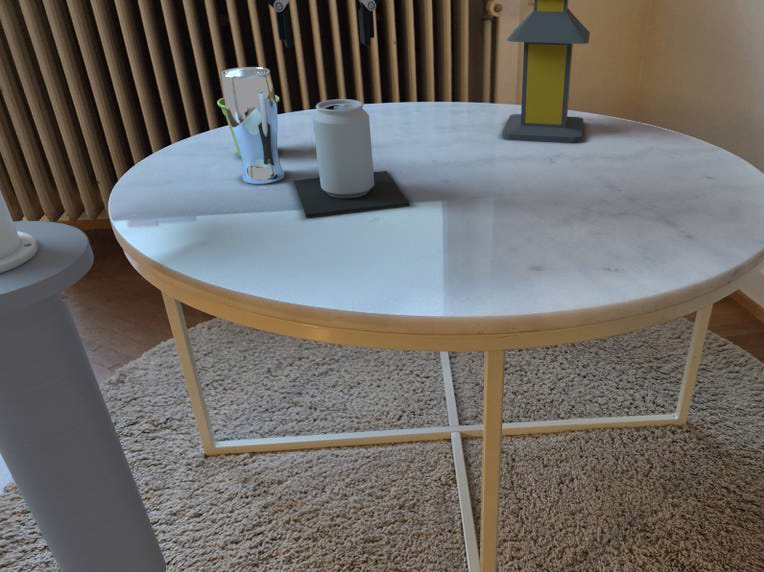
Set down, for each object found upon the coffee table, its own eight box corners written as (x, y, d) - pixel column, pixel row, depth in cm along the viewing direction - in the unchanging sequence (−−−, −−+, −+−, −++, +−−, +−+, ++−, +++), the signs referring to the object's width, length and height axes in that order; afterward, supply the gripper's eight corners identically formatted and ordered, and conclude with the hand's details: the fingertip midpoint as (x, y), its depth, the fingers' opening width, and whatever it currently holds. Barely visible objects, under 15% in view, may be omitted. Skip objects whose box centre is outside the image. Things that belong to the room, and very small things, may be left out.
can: (339, 179, 100) (330, 94, 94) (384, 186, 98) (378, 99, 91) (311, 195, 94) (299, 106, 88) (358, 203, 92) (349, 112, 86)
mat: (306, 217, 89) (305, 214, 89) (293, 183, 100) (293, 180, 100) (409, 205, 93) (409, 202, 93) (386, 173, 104) (386, 170, 104)
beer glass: (234, 185, 99) (212, 76, 91) (246, 170, 105) (226, 66, 97) (282, 185, 99) (264, 76, 91) (291, 170, 105) (276, 66, 97)
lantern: (581, 143, 118) (599, -59, 102) (501, 139, 120) (506, -60, 103) (583, 122, 130) (599, -62, 113) (510, 118, 132) (516, -63, 115)
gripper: (234, -125, 71) (259, 52, 80) (396, -118, 76) (401, 48, 85) (231, -123, 76) (254, 42, 86) (381, -117, 81) (388, 39, 91)
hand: (327, 45), depth 85 cm, fingers open, 9 cm apart
